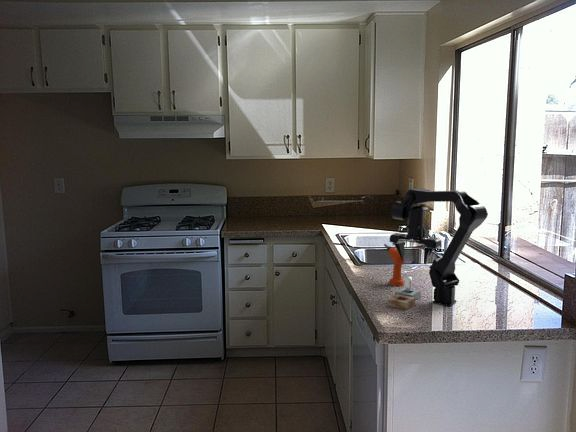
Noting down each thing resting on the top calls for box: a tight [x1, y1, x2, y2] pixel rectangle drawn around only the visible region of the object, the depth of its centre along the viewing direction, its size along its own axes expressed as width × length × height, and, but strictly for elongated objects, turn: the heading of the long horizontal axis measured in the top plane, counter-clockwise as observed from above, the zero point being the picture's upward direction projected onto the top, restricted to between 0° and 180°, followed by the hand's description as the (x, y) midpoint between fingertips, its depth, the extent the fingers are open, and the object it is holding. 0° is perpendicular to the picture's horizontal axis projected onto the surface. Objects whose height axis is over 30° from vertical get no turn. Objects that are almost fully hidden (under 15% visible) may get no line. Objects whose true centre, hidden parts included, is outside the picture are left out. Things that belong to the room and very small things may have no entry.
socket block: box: [387, 294, 416, 311], centre depth 184 cm, size 7×7×2 cm
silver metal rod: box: [404, 275, 413, 293], centre depth 191 cm, size 2×2×8 cm
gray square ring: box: [394, 287, 422, 301], centre depth 192 cm, size 7×7×2 cm
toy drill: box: [383, 243, 406, 287], centre depth 213 cm, size 5×19×15 cm, turn 12°
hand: (414, 262), depth 196 cm, fingers open, 9 cm apart
